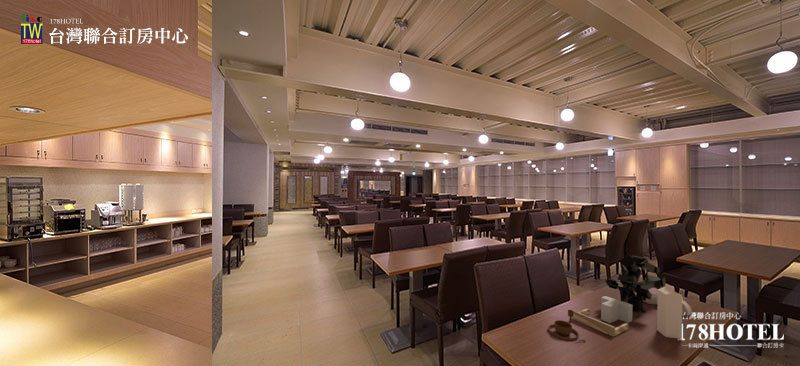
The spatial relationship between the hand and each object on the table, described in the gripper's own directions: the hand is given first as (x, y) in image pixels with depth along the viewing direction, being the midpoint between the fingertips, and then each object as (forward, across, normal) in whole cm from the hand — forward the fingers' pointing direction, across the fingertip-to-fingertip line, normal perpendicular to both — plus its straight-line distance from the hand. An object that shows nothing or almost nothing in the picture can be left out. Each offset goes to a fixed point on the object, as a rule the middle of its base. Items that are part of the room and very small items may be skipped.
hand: (621, 302), depth 146 cm
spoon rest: (-16, +5, +27) cm, 32 cm away
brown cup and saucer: (+33, -3, -25) cm, 41 cm away
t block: (+11, 0, -3) cm, 11 cm away
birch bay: (+18, 0, -11) cm, 21 cm away
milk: (+7, +20, +2) cm, 21 cm away
